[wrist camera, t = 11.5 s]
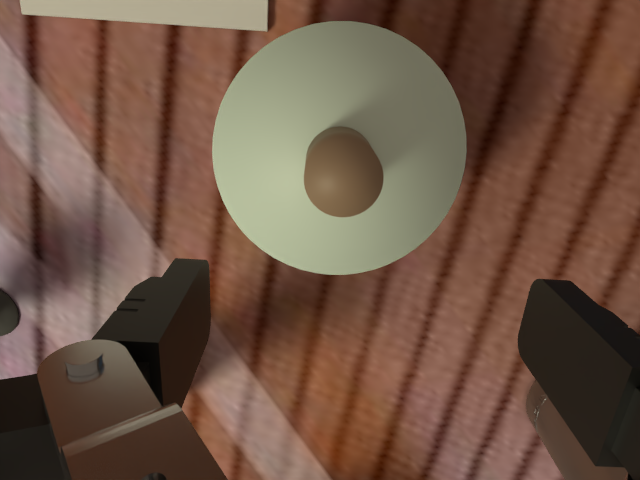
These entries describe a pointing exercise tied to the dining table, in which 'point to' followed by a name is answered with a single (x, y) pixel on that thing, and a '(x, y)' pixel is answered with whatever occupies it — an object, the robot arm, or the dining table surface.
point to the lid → (339, 147)
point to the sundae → (7, 314)
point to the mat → (160, 11)
